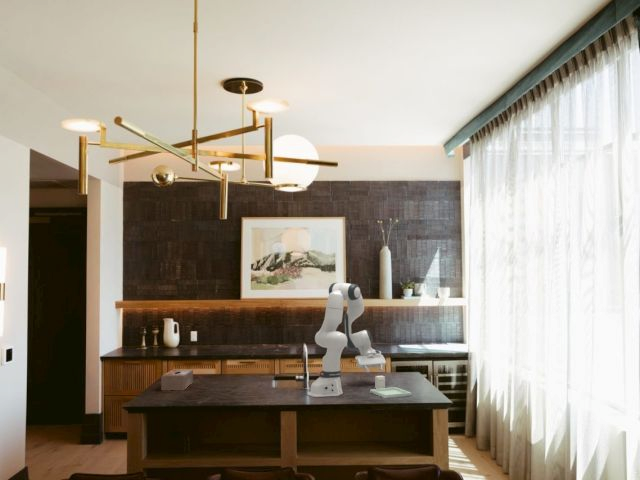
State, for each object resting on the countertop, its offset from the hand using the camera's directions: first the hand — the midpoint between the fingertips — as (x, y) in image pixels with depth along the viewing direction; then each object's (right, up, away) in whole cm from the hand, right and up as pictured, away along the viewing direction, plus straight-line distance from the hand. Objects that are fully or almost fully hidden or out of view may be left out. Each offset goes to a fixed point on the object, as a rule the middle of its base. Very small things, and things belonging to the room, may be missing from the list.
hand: (375, 371), depth 393 cm
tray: (+7, -9, -26) cm, 28 cm away
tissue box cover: (-132, -12, +5) cm, 132 cm away
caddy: (+3, -10, -7) cm, 12 cm away
